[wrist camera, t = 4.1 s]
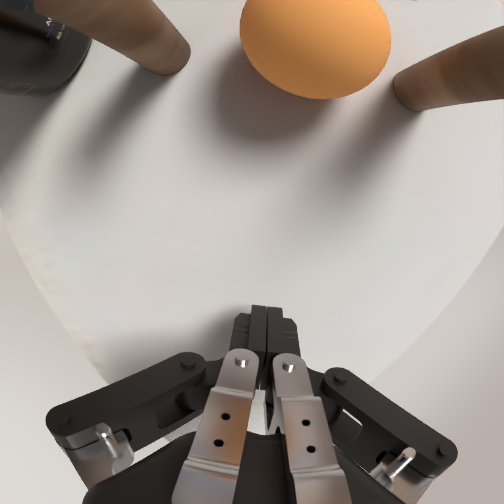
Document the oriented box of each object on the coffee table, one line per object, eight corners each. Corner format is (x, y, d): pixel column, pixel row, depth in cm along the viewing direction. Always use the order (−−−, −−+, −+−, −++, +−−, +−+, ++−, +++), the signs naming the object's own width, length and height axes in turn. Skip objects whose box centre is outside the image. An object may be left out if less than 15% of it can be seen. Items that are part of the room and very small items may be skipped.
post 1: (151, 38, 11) (49, -35, 2) (193, 35, 11) (115, -64, 2) (144, 76, 12) (23, 25, 3) (187, 74, 12) (87, -3, 3)
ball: (251, -55, 6) (214, 4, 5) (395, -28, 6) (431, 48, 5) (253, 33, 12) (232, 115, 11) (362, 52, 11) (368, 138, 11)
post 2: (394, 64, 11) (505, 6, 2) (430, 78, 11) (548, 47, 2) (392, 103, 12) (518, 72, 3) (429, 116, 12) (557, 110, 3)
